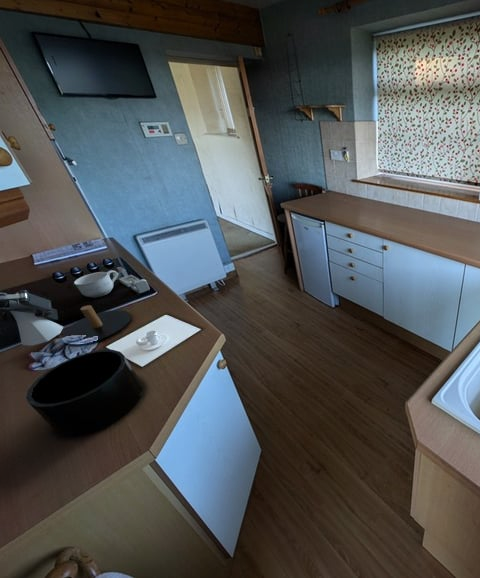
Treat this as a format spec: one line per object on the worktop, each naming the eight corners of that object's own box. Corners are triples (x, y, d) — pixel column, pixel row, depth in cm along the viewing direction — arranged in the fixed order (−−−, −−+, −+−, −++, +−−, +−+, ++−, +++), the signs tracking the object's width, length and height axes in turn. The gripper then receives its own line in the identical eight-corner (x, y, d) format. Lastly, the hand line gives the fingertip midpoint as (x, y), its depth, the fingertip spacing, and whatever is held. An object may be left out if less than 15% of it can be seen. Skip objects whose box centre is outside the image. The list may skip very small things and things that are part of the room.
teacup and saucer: (133, 345, 98) (128, 336, 95) (158, 332, 104) (153, 323, 102) (149, 354, 94) (144, 344, 92) (173, 339, 101) (169, 330, 98)
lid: (46, 347, 96) (29, 325, 92) (92, 313, 113) (79, 293, 108) (107, 345, 98) (93, 324, 93) (143, 312, 114) (133, 292, 109)
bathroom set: (151, 288, 128) (146, 278, 125) (139, 293, 125) (134, 283, 122) (125, 273, 139) (119, 263, 136) (113, 278, 136) (107, 267, 133)
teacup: (89, 303, 118) (78, 286, 114) (79, 295, 123) (69, 278, 119) (129, 288, 128) (121, 272, 124) (119, 281, 133) (110, 266, 129)
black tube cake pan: (34, 438, 70) (2, 408, 64) (93, 379, 86) (71, 350, 80) (112, 435, 71) (88, 405, 65) (157, 377, 87) (140, 348, 81)
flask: (50, 343, 71) (20, 311, 65) (15, 349, 70) (-18, 316, 64) (70, 325, 77) (44, 293, 71) (38, 329, 76) (9, 298, 70)
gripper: (10, 266, 57) (84, 295, 78) (-127, 285, 50) (-6, 311, 72) (14, 303, 56) (88, 322, 77) (-126, 327, 49) (-3, 341, 71)
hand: (42, 317), depth 74 cm, fingers closed on flask, 4 cm apart
